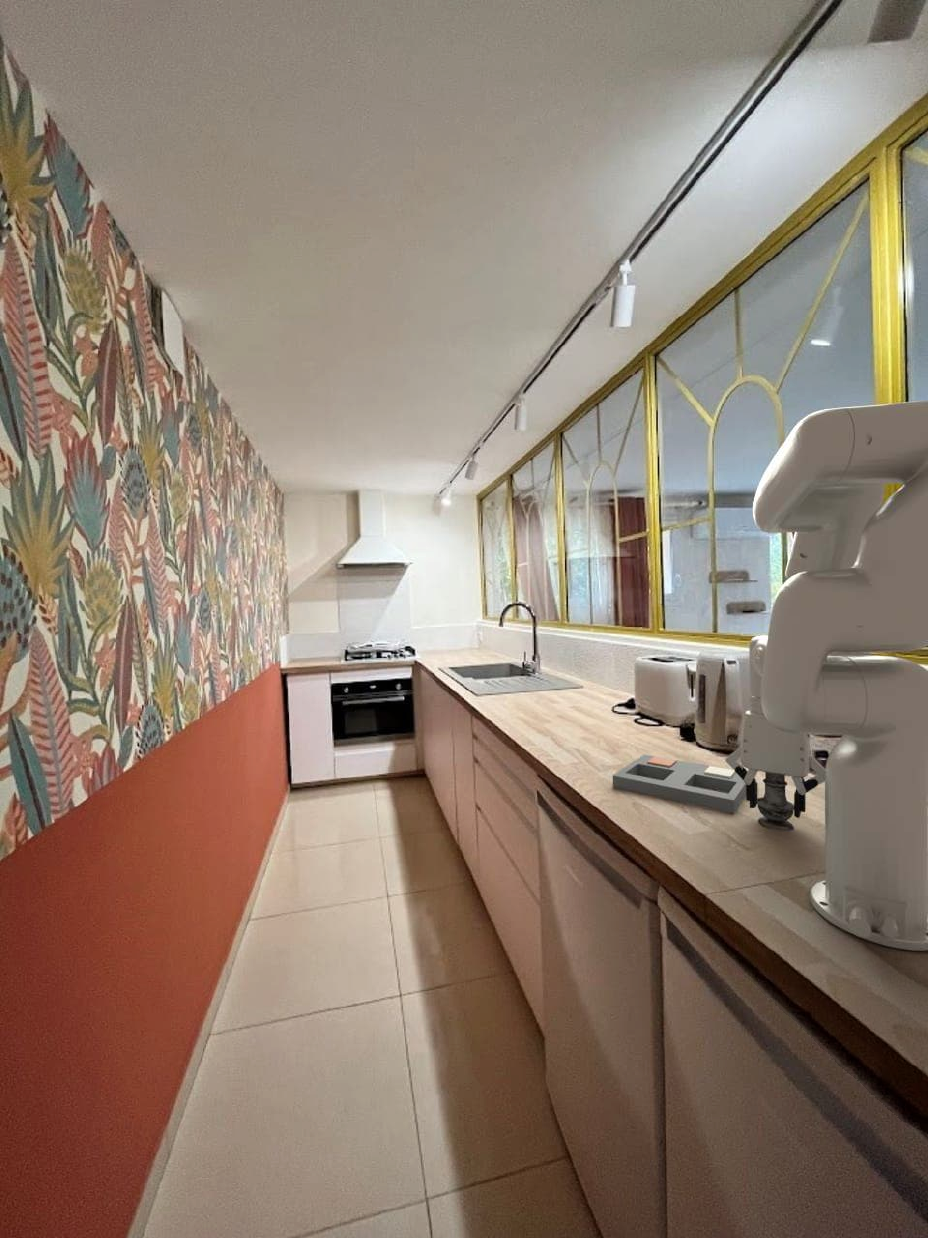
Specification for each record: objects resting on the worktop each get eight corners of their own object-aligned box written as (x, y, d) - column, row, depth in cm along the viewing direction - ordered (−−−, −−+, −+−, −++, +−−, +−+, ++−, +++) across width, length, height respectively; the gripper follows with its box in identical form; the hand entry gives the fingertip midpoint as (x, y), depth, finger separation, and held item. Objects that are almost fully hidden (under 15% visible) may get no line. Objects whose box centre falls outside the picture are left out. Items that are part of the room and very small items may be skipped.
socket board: (734, 813, 90) (733, 798, 90) (612, 786, 105) (612, 773, 105) (752, 784, 105) (752, 771, 105) (644, 764, 119) (643, 752, 119)
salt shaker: (802, 832, 82) (801, 761, 82) (763, 830, 83) (762, 759, 83) (786, 818, 88) (786, 751, 88) (750, 816, 89) (750, 750, 89)
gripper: (838, 709, 83) (838, 815, 83) (724, 698, 94) (725, 793, 94) (835, 716, 77) (836, 831, 77) (715, 704, 88) (715, 805, 88)
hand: (775, 809), depth 86 cm, fingers closed on salt shaker, 5 cm apart
